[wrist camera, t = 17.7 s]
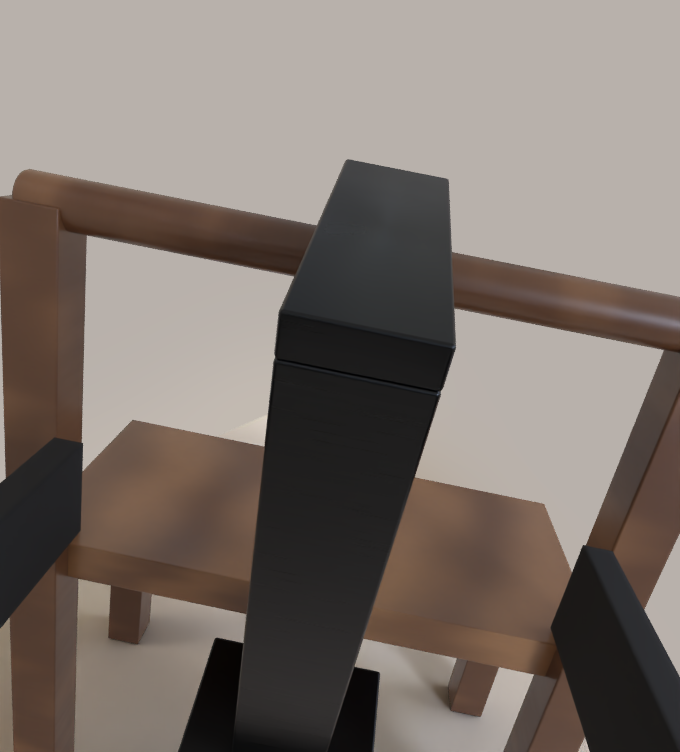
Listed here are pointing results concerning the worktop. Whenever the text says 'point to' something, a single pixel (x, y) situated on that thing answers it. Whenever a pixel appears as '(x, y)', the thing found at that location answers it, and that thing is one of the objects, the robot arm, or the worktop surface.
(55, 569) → the chair
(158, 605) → the worktop surface
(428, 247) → the black pedestal stand
